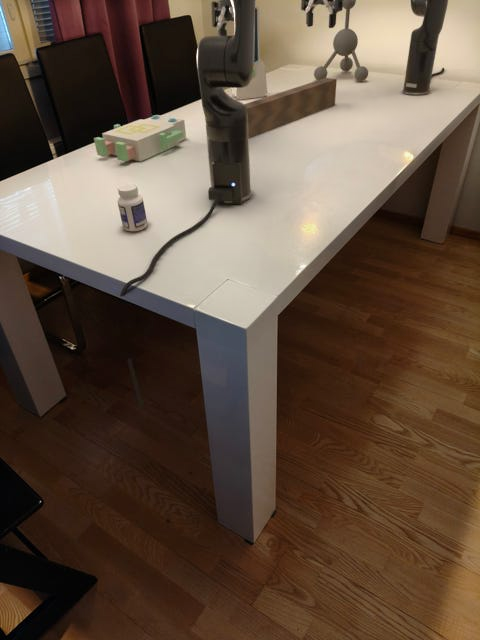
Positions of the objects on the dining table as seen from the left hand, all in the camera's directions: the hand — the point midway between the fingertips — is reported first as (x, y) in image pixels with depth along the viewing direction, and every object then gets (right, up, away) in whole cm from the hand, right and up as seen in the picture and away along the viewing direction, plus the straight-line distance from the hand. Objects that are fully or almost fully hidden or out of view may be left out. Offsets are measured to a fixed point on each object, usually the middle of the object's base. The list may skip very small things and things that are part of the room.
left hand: (234, 46), depth 134 cm
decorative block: (-27, -24, +12) cm, 38 cm away
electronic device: (+5, +11, +55) cm, 56 cm away
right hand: (+27, +18, +21) cm, 39 cm away
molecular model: (+43, +26, +71) cm, 87 cm away
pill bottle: (-21, -55, -29) cm, 66 cm away
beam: (+15, -11, +26) cm, 32 cm away
